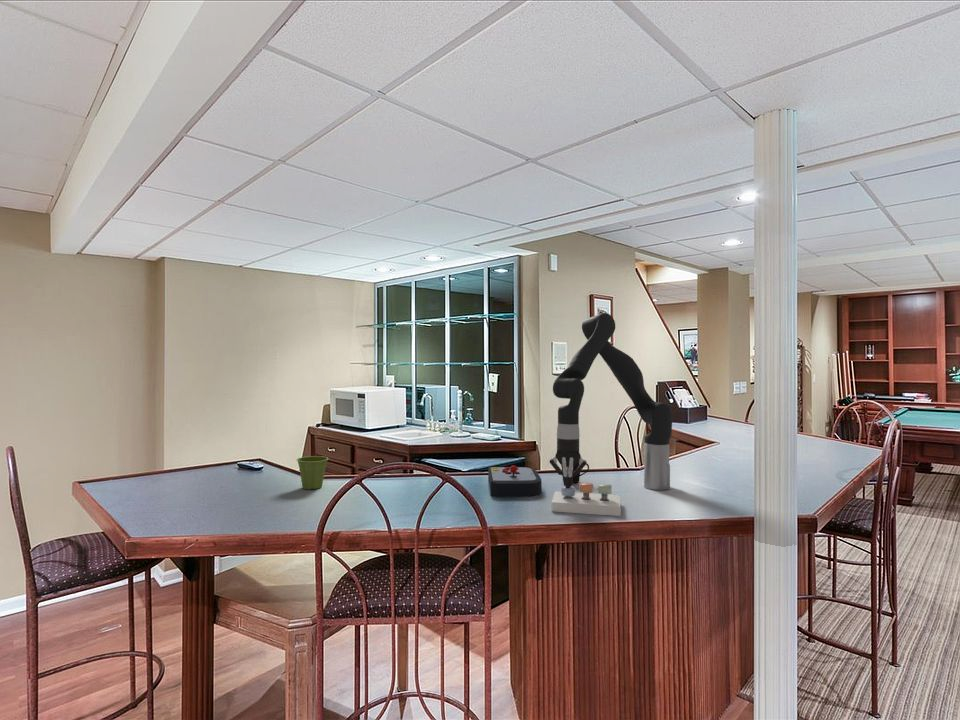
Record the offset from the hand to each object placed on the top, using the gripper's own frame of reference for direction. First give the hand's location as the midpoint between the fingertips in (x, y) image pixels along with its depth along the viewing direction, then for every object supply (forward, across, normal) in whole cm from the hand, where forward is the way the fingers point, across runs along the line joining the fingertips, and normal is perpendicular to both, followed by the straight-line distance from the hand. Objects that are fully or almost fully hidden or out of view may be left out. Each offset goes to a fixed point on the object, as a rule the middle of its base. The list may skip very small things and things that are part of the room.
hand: (567, 487), depth 179 cm
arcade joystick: (+7, +22, -21) cm, 31 cm away
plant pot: (+7, +98, -3) cm, 98 cm away
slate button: (+6, 0, 0) cm, 6 cm away
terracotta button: (+4, -6, 0) cm, 7 cm away
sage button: (+4, -12, 0) cm, 13 cm away
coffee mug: (+7, 0, -34) cm, 35 cm away
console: (+6, -6, 0) cm, 9 cm away
